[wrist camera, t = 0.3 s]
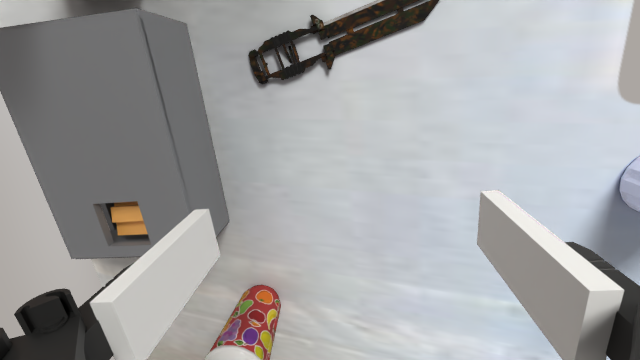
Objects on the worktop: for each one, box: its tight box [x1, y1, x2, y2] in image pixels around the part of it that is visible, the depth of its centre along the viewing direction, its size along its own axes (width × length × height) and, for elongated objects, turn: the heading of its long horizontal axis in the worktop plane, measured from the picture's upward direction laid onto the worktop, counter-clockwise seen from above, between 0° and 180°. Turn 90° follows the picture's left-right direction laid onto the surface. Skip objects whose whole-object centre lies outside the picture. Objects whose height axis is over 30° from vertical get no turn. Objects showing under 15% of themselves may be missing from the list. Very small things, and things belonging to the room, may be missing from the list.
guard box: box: [0, 8, 229, 259], centre depth 39 cm, size 28×18×10 cm, turn 6°
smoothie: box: [204, 285, 281, 360], centre depth 42 cm, size 8×8×20 cm
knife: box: [248, 0, 439, 84], centre depth 37 cm, size 25×6×1 cm, turn 105°
